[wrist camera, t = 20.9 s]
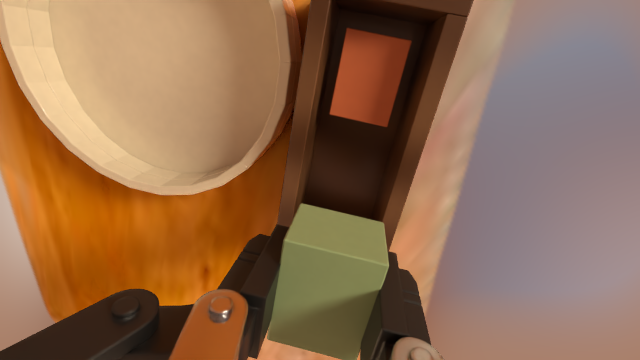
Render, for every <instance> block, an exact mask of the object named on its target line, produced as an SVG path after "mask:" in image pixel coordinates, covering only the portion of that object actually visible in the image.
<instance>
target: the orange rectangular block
mask: <svg viewBox="0 0 640 360" xmlns="http://www.w3.org/2000/svg"><path fill="white" fill-rule="evenodd" d="M411 43H412V41H411V40H406V39H401V38H397V37H392V36H387V35H382V34H377V33H372V32H367V31H362V30H357V29H352V28H347V29H346V33H345V38H344V43H343V48H342V53H341V58H340V63H339V68H338V73H337V78H336V82H335V87H334V92H333V97H332V102H331V107H330V112H329V114H330V115H334V116H338V117H343V118H347V119H352V120H356V121H361V122H365V123H370V124H374V125H379V126H384V127H387V126H388V123H389V120H390V116H391V113H392V109H393V106H394V102H395V99H396V95H397V92H398V88H399V85H400V81H401V78H402V74H403V71H404V67H405V64H406V60H407V57H408V53H409V50H410V46H411Z"/></svg>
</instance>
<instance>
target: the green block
mask: <svg viewBox="0 0 640 360" xmlns="http://www.w3.org/2000/svg"><path fill="white" fill-rule="evenodd" d="M280 264H281V265H280V271H279V277H278V283H277V289H276V295H275V301H274V306H273V312H272V318H271V322H270V324H269V329H268V335H267V339H268V340H271V341H275V342H278V343H282V344H286V345H290V346H293V347H297V348H301V349H305V350H308V351H312V352H316V353H320V354H323V355H327V356H331V357H334V358H338V359H342V360H357V358H358V355H359V352H360V349H361V341H362V338H363V335H364V332H365V329H366V326H367V324H368V321H369V318H370V315H371V312H372V309H373V306H374V303H375V300H376V297H377V295H378V292H379V289H381V288H382V285H383V282H384V280H385V277H386V274H387V271H388V268H389V261H388V252H387V244H386V236H385V228H384V223H383V222H379V221H375V220H370V219H366V218H362V217H358V216H354V215H349V214H345V213H341V212H337V211H332V210H328V209H324V208H320V207H315V206H311V205H307V204H303V203H301V204H300V205H299V208H298V210H297V212H296V214H295V216H294V218H293V220H292V222H291V225H290V227H289V229H288V231H287V233H286V235H285V237H284V240H283V245H282V251H281V257H280Z"/></svg>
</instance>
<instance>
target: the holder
mask: <svg viewBox="0 0 640 360" xmlns="http://www.w3.org/2000/svg"><path fill="white" fill-rule="evenodd" d="M472 3H473V0H311V3H310V9H309V16H308V23H307V29H306V36H305V43H304V49H303V56H302V62H301V69H300V76H299V82H298V89H297V96H296V102H295V109H294V116H293V122H292V129H291V136H290V142H289V149H288V155H287V162H286V169H285V175H284V182H283V189H282V195H281V202H280V209H279V215H278V222H277V224H279V225H283V226H287V227H290V225H291V222H292V220H293V218H294V216H295V214H296V212H297V210H298V208H299V205H300V204H301V203H303V204H307V205H311V206H315V207H320V208H324V209H328V210H332V211H337V212H341V213H345V214H349V215H354V216H358V217H362V218H366V219H370V220H375V221H379V222H383V223H384V228H385V236H386V244H387V251H389V249H390V246H391V243H392V240H393V237H394V234H395V231H396V228H397V225H398V222H399V219H400V216H401V214H402V211H403V208H404V205H405V202H406V199H407V196H408V193H409V190H410V187H411V184H412V181H413V178H414V175H415V172H416V169H417V166H418V163H419V160H420V157H421V154H422V151H423V148H424V145H425V142H426V140H427V137H428V134H429V131H430V128H431V125H432V122H433V119H434V116H435V113H436V110H437V107H438V104H439V101H440V98H441V95H442V92H443V89H444V86H445V83H446V80H447V77H448V74H449V71H450V68H451V66H452V63H453V60H454V57H455V54H456V51H457V48H458V45H459V42H460V39H461V36H462V33H463V30H464V27H465V24H466V21H467V17H468V15H469V12H470V9H471V6H472ZM347 28H352V29H357V30H362V31H367V32H372V33H377V34H382V35H387V36H392V37H397V38H401V39H406V40H411V41H412V43H411V46H410V50H409V53H408V57H407V60H406V64H405V67H404V71H403V74H402V78H401V81H400V85H399V88H398V92H397V95H396V99H395V102H394V106H393V109H392V113H391V116H390V120H389V123H388V126H387V127H384V126H379V125H374V124H370V123H365V122H361V121H356V120H352V119H347V118H343V117H338V116H334V115H330V114H329V112H330V107H331V102H332V97H333V92H334V87H335V82H336V78H337V73H338V68H339V63H340V58H341V53H342V48H343V43H344V38H345V33H346V29H347Z"/></svg>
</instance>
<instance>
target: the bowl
mask: <svg viewBox="0 0 640 360" xmlns="http://www.w3.org/2000/svg"><path fill="white" fill-rule="evenodd" d="M0 40H1V44H2V47H3V49H4V52H5V54H6V57H7V59H8V61H9V64H10V66H11V68H12V71H13V73H14V76H15V78H16V80H17V83H18V85H19V87H20V88H21V90H22V91H23V93H24V94H25V96H26V98H27V99H28V101H29V102H30V104H31V105H32V107H33V108H34V110H35V112H36V113H37V115H38V116H39V118H40V119H41V120H42V122H43V123H44V124H45V125H46V126H47V127H48V128H49V129H50V130H51V132H52V133H53V134H54V135H55V136H56V137H57V138H58V139H59V140H60V141H61V142H62V143H63V145H64V146H65V147H66V148H67V149H69V151H71V152H72V153H73V154H75V155H76V156H77V157H79V158H80V159H81V160H82V161H84V162H85V163H86V164H88V165H89V166H90V167H92V168H93V169H94V170H96V171H97V172H99V173H101V174H103V175H105V176H107V177H109V178H111V179H113V180H115V181H117V182H119V183H121V184H123V185H125V186H127V187H130V188H134V189H138V190H142V191H146V192H150V193H154V194H158V195H192V194H197V193H200V192H204V191H207V190H210V189H214V188H217V187H220V186H222V185H224V184H226V183H227V182H229V181H230V180H232V179H233V178H235V177H236V176H238V175H239V174H241V173H242V172H244V171H245V170H247V169H248V168H249V167H251V166H252V165H253V164H254V163H255V162H256V161H257V160H258V159H260V158H261V157H262V156H263V155H264V153H265V152H266V151H267V150H268V149H269V147H270V146H271V145H272V144H273V143H274V142H275V140H276V139H277V138H278V136H279V135H280V134H281V132H282V131H283V129H284V127H285V125H286V123H287V121H288V119H289V117H290V115H291V112H292V110H293V107H294V104H295V101H296V96H297V89H298V82H299V76H300V69H301V62H302V58H301V39H300V32H299V25H298V20H297V16H296V13H295V9H294V5H293V1H292V0H0Z"/></svg>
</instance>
